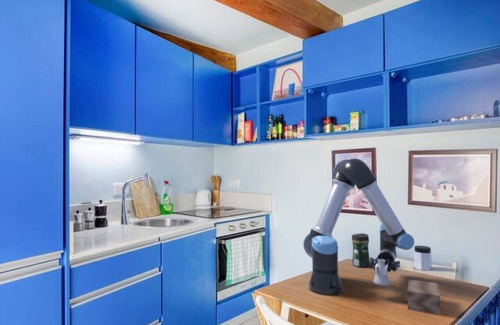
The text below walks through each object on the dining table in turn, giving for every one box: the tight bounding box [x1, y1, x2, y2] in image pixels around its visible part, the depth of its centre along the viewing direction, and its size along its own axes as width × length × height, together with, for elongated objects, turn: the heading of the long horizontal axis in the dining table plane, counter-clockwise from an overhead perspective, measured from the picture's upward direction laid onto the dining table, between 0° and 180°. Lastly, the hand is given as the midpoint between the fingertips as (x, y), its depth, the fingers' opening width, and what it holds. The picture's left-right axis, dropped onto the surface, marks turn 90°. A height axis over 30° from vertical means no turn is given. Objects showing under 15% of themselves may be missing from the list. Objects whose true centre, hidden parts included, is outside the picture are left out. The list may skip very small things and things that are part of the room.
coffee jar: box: [351, 232, 370, 268], centre depth 185 cm, size 10×8×19 cm
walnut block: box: [406, 278, 442, 316], centre depth 128 cm, size 11×16×7 cm
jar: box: [413, 245, 432, 272], centre depth 178 cm, size 9×8×12 cm
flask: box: [372, 259, 391, 287], centre depth 136 cm, size 7×7×10 cm
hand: (380, 270), depth 133 cm, fingers closed on flask, 3 cm apart
